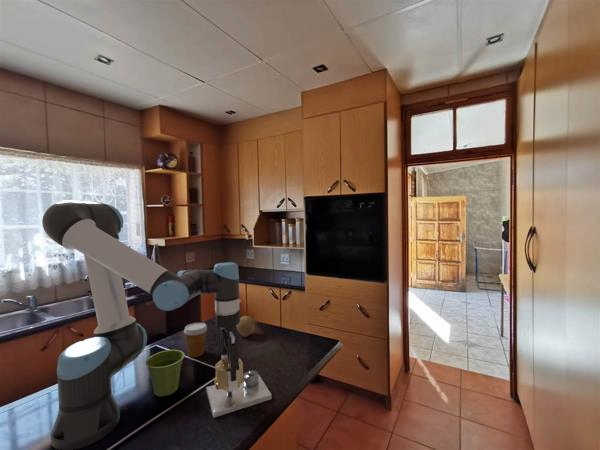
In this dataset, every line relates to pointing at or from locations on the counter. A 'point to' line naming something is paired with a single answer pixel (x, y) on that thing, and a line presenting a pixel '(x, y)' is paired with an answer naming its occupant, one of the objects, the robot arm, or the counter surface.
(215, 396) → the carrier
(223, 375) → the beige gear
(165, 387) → the plant pot
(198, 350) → the disposable coffee cup
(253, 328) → the natural sponge
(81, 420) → the robot arm
